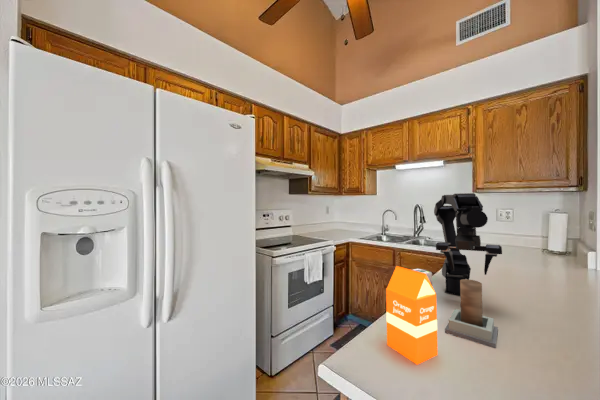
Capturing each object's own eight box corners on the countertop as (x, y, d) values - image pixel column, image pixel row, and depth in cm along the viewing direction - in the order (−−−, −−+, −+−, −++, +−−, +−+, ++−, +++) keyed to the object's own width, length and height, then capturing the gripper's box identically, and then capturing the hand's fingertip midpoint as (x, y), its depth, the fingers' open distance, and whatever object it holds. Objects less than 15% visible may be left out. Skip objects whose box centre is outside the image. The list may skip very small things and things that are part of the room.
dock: (445, 332, 67) (444, 320, 67) (452, 318, 75) (452, 307, 75) (495, 348, 59) (495, 334, 59) (497, 330, 68) (497, 318, 68)
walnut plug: (456, 325, 69) (456, 280, 69) (468, 322, 70) (467, 278, 71) (474, 334, 64) (474, 286, 64) (486, 330, 66) (486, 283, 66)
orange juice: (417, 365, 53) (415, 276, 54) (386, 344, 61) (385, 267, 62) (438, 354, 57) (436, 271, 57) (406, 336, 65) (405, 263, 65)
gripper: (431, 227, 85) (433, 272, 83) (499, 227, 73) (503, 280, 71) (438, 227, 93) (440, 268, 91) (500, 228, 81) (504, 275, 79)
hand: (468, 272), depth 83 cm, fingers open, 9 cm apart
